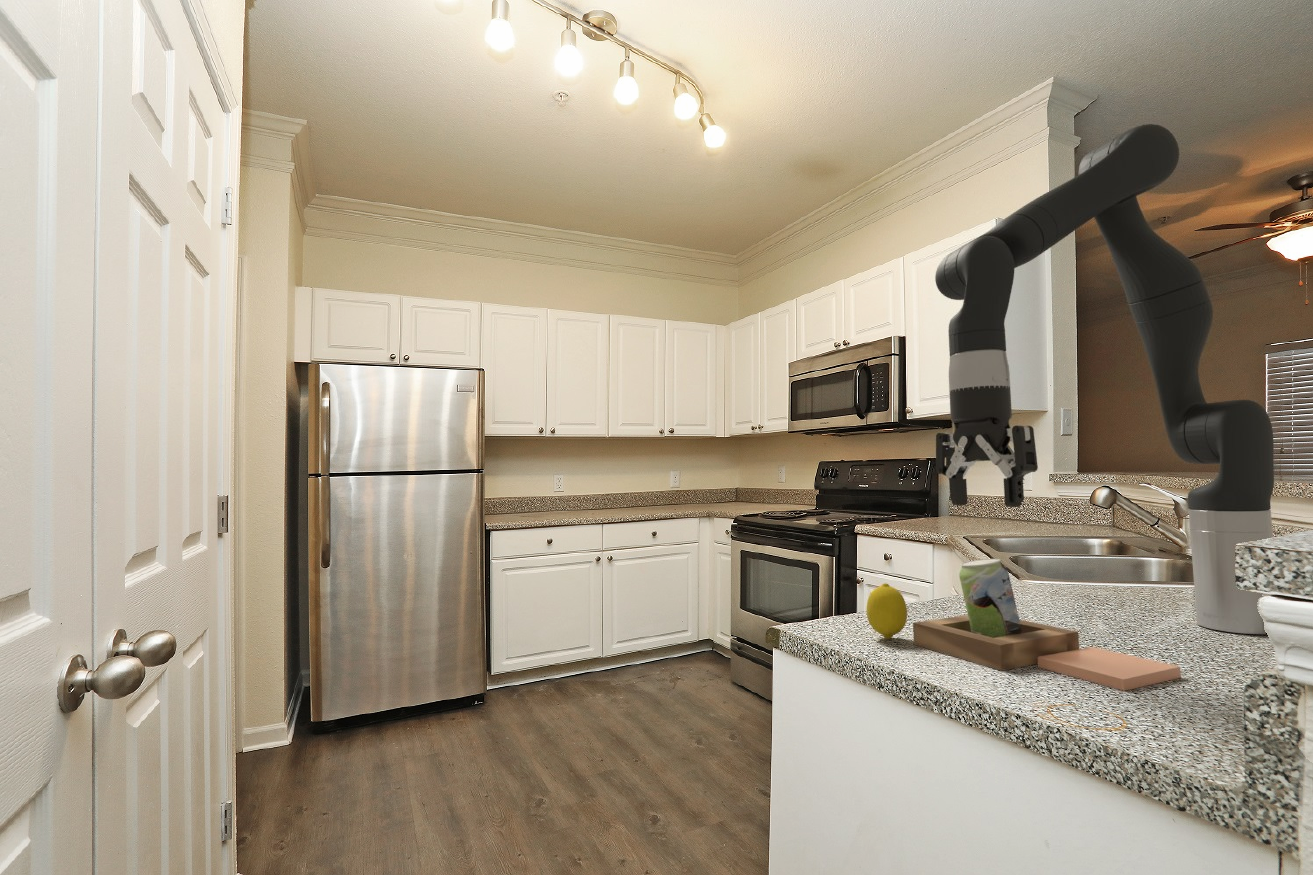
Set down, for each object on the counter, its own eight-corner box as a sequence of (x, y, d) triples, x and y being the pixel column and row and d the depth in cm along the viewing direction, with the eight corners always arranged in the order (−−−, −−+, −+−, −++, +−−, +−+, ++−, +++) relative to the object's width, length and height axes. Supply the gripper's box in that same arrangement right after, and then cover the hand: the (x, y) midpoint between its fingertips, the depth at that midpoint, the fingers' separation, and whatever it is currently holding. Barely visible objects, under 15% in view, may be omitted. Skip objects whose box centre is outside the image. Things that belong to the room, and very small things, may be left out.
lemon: (893, 646, 91) (890, 587, 91) (859, 638, 95) (857, 583, 96) (916, 639, 94) (913, 583, 95) (882, 632, 99) (880, 579, 99)
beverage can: (1031, 656, 84) (1026, 562, 85) (970, 655, 85) (965, 562, 86) (1015, 644, 90) (1010, 556, 91) (958, 643, 92) (953, 556, 92)
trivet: (1092, 656, 84) (1092, 646, 84) (1180, 677, 74) (1180, 666, 74) (1038, 666, 80) (1037, 656, 80) (1123, 690, 70) (1123, 679, 71)
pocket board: (986, 632, 97) (985, 612, 97) (1079, 655, 84) (1078, 631, 84) (914, 644, 92) (912, 622, 92) (1001, 670, 79) (999, 645, 79)
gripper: (1046, 380, 85) (1053, 506, 84) (957, 394, 98) (962, 503, 97) (1005, 378, 82) (1012, 508, 81) (918, 393, 95) (924, 505, 94)
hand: (985, 505), depth 89 cm, fingers open, 8 cm apart
